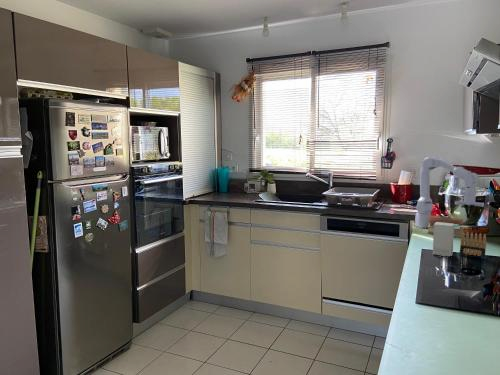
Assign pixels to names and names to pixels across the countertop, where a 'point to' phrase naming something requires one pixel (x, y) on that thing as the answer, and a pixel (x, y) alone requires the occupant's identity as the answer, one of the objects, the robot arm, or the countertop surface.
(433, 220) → the lid
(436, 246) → the skincare box
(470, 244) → the ammunition clip
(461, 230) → the storage box
